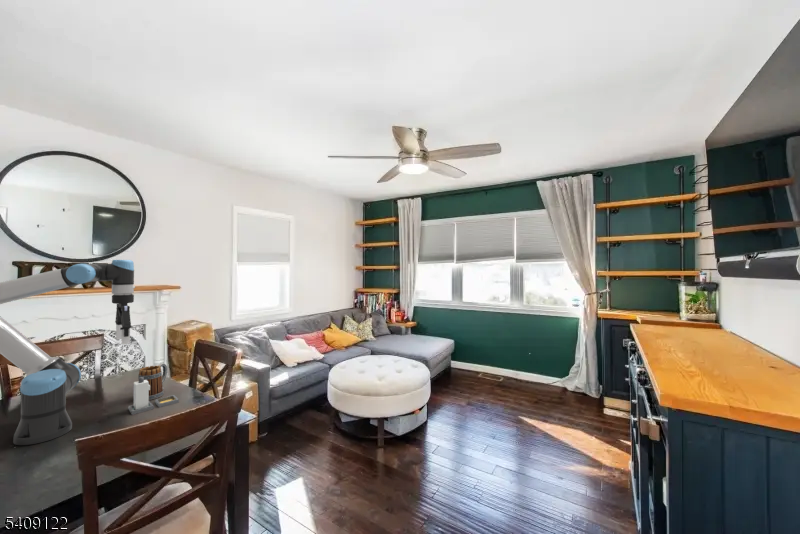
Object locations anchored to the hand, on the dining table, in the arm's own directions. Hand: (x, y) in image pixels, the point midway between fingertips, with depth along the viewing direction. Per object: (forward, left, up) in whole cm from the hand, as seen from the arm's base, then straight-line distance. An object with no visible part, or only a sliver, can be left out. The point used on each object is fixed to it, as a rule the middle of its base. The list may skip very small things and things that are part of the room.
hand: (122, 341), depth 147 cm
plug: (+5, -8, -30) cm, 31 cm away
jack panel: (+10, -8, -31) cm, 33 cm away
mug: (+13, +7, -31) cm, 34 cm away
